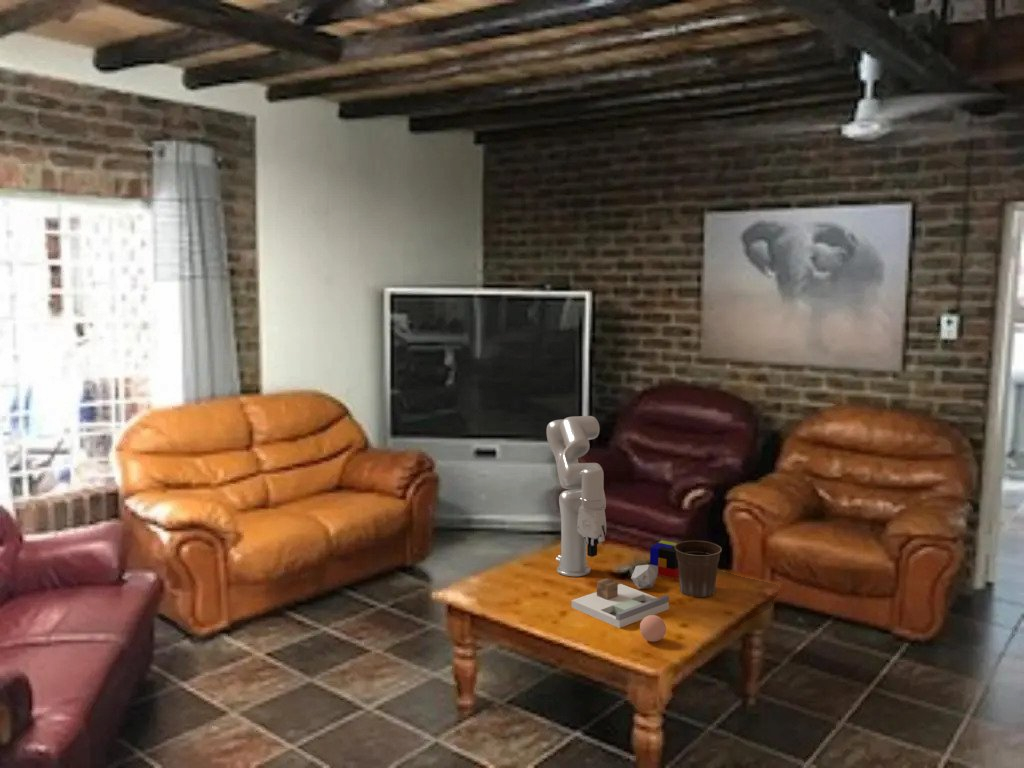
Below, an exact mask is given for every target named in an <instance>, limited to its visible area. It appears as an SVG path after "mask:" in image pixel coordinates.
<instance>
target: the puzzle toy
mask: <svg viewBox="0 0 1024 768" xmlns="http://www.w3.org/2000/svg"><path fill="white" fill-rule="evenodd" d="M676 544H677V543H676V542H672V541H667V540H660V541H659V542H657V543H655V544H653V545H651V546H649V547H650V549H649V551H650V552H649V565H650V566H651V568H652V569H653V570H654V572H655V573H656V574H657V576H658V575H659V576H662V577H663V576H664V577H668V578H672V579H675V578H677V577H679V570H678V560H677V557H676V550H675V548H674V546H675V545H676Z"/></svg>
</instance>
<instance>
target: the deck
mask: <svg viewBox="0 0 1024 768" xmlns="http://www.w3.org/2000/svg"><path fill="white" fill-rule="evenodd" d="M570 602H571V606H570V607H571V609H573V610H576V611H579V612H581V613H583V614H586V615H588V616H591V617H593V618H595V619H597V620H599V621H602V622H604V623H607V624H609V625H611V626H614V627H615V628H618V629H620V628H623V627H625V626H628V625H630V624H631V625H632V624H634V623H636V622H639V621H642V620H643V619H644V618H645V617H646V616H649V615H658V614H661V613H662V612H664V611H668V610H669V609H670V596H669V595H667V594H664V595H661V596H659V597H656V596H654V595H651V594H649V593H646V592H644V591H641V590H638V589H635V588H633V587H630V586H627V585H625V584H622V583H618V596H617V597H614V598H612V599H609V600H606V599H604V598H601V597H599V596H597V591H596V592H592V593H589V594H586V595H583V596H581V597H578V598H575V599H571V601H570Z"/></svg>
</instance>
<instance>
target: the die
mask: <svg viewBox="0 0 1024 768" xmlns="http://www.w3.org/2000/svg"><path fill="white" fill-rule="evenodd" d="M657 578H658V574H656V573H655V572H654V570H653V569H652V568H651V566H650V564H641V565H635V567H634V569H633V572H632V574H631V577H630V579H631V581H632V582H633V583H634V584H635V586H636V587H637V588H638V589H639V590H645V589H652V588H653V587H654V585H655V583H656V581H657ZM638 589H637V590H638Z"/></svg>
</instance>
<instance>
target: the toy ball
mask: <svg viewBox="0 0 1024 768" xmlns="http://www.w3.org/2000/svg"><path fill="white" fill-rule="evenodd" d="M639 631H640V634H641V636H642V638H644V639H645V640H646V641H648V642H651V643H656V642H659V641H660V640H662V639H663V638H664V637H665V636H666V632H667V625H666V622H665V621H664V619H663V618H661V617H660V616H659V615H657V614H655V615H649V616H646V617H645V618H644V619H642V620H640V623H639Z"/></svg>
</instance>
